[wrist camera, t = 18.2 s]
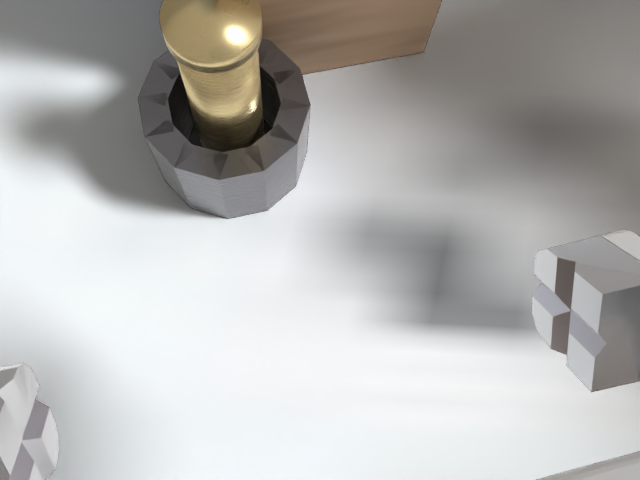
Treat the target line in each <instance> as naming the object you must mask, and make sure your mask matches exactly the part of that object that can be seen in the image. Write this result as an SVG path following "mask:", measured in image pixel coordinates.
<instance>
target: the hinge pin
mask: <svg viewBox="0 0 640 480" xmlns="http://www.w3.org/2000/svg"><path fill="white" fill-rule="evenodd" d="M159 21H160V26H161V30H162V33H163V36H164V40H165V43H166V46H167V48H168V50H169V51H170V53H171V54H172V56H173V57H174V58H175V59H176V60H177V63H178V66H179V70H180V73H181V76H182V80H183V83H184V87H185V90H186V94H187V97H188V100H189V104H190V107H191V111H192V114H193V118H194V121H195V124H196V128H197V131H198V135H199V138H200V141H201V145H202V147H203V148H207V149H210V150H214V151H217V152H225V151H230V150H236V149H241V148H246V147H250V146H252V145H253V144H254V143H255V142H257V141H258V140H259V139H260V138H261V137H263V136H264V122H263V108H262V95H261V81H260V67H259V54H258V47H259V45H260V43H261V39H262V13H261V7H260V4H259V2H258V0H163V2H162V5H161V8H160V13H159Z"/></svg>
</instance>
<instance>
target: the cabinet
mask: <svg viewBox="0 0 640 480" xmlns="http://www.w3.org/2000/svg"><path fill="white" fill-rule="evenodd" d="M258 2H259V4H260V7H261V13H262V39H266V40H270V41H271V42H273V43H274V44H275V45H276V46H277V47H278V48H279V49H280V50H281V51H282V52H283V53H284V54H285V55H287V56H288V57H289V58H290V59H291V60H292V61H293V62H294V63H295V64H296V65H297V66H298V67H299V68H300V70H301V73H302V74H307V73H312V72H318V71H323V70H329V69H334V68H340V67H345V66H350V65H356V64H361V63H367V62H372V61H378V60H383V59H388V58H394V57H399V56H405V55H410V54H416V53H421V52H424V50H425V47H426V44H427V41H428V38H429V36H430V33H431V30H432V27H433V24H434V22H435V19H436V16H437V13H438V10H439V8H440V5H441V2H442V0H258Z"/></svg>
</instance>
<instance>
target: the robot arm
mask: <svg viewBox="0 0 640 480" xmlns="http://www.w3.org/2000/svg"><path fill="white" fill-rule="evenodd" d="M533 273H534V275H535V276H536V277H537V278H538V279H539V280H540V282H541V284H540V285H539V287H538V288H537V290H536V291H535V293H534V294H533V296H532V315H533V318H534V322H535V325H536V329H537V330H538V332H539V334H540V336H541V338H542V339H543V340H544V342H545V343H546V344H547V345H548V346H549V347H550V348H551V349H553V350H556V351H558V352H561V353H563V354H566V355H567V364H566V366H567V367H568V368H569V369H570V370H571V371H572V372H573V373H574V374H575V375H576V376H577V377H578V379H579V380H580V381H581V382H582V383H583V384H584V385H585V386H586V387H587V388H588V389H589V390H590V391H591V392H594V391H599V390H603V389H608V388H612V387H616V386H621V385H625V384H630V383H634V382H638V381H640V236H638V235H637V234H635V233H633V232H632V231H628V230H618V231H614V232H610V233H606V234H603V235H599V236H595V237H592V238H588V239H584V240H580V241H576V242H572V243H568V244H564V245H560V246H556V247H551V248H547V249H543V250H539V251H538V252H537V254H536V257H535V259H534V272H533ZM38 388H39V383H38V381H37V379H36V377H35V374H34V372H33V370H32V368H31V367H29V366H28V365H26V364H24V363H22V364H17V365H12V366H7V367H2V368H0V480H46V479H47V478H48V477H49V476H50V475H51V474H52V473H53V472H54V471H55V470H56V465H57V460H58V456H59V439H58V431H57V427H56V423H55V419H54V417H53V415H52V412H51V410H50V407H48V406H46V405H44V404H43V403H41V402H39V401H37V400H36V399H35V398H36V394H37V391H38ZM536 480H640V451H638V452H634V453H631V454H627V455H624V456H620V457H616V458H613V459H609V460H605V461H602V462H598V463H594V464H591V465H587V466H583V467H580V468H576V469H572V470H569V471H565V472H562V473H558V474H554V475H551V476H547V477H543V478H540V479H536Z"/></svg>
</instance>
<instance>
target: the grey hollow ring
mask: <svg viewBox="0 0 640 480" xmlns="http://www.w3.org/2000/svg"><path fill="white" fill-rule="evenodd" d="M258 54H259V67H260V81H261V95H262V108H263V118H264V119H265V120H266V121H267V122H268V123H269V124H270V125H271V126H272V127H273V128H272V129H271V130H270V131H269V132H268V133H266V134H265V135H264V136H263V137H261V138H260V139H259V140H258V141H257V142H255V143H254V144H253V145H252V146H250V147H246V148H241V149H236V150H230V151H225V152H217V151H214V150H210V149H207V148H203V147H200V146H196V145H193V144H191V143H190V142H189V141H188V139H189V137H190V134H191V132H192V129H193V127H194V126H195V125H196V124H195V121H194V118H193V114H192V111H191V107H190V104H189V100H188V97H187V94H186V90H185V87H184V83H183V80H182V76H181V73H180V70H179V66H178V63H177V60H176V59H175V58H174V57H173V56H172V54H171V53H170V51H168V52H166V53H165V54H163V55H162V56H161V57H159V58H158V59H156V60H155V61H154V62H153V65H152V67H151V69H150V71H149V74H148V76H147V78H146V80H145V83H144V85H143V87H142V89H141V92H140V94H139V96H138V102H139V107H140V113H141V119H142V124H143V130H144V135H145V139H146V141H147V143H148V145H149V147H150V149H151V151H152V153H153V156H154V158H155V160H156V162H157V164H158V166H159V168H160V170H161V172H162V175H163V177H164V179H165V181H166V182H167V183H168V184H169V185H170V186H171V187H172V188H173V189H174V190H175V191H176V193H177V194H178V195H179V196H180V197H181V198H182V199H183V200H184V201H185V202H186V203H187V204H188V205H189V206H190V207H191V208H193V209H197V210H200V211H204V212H207V213H211V214H214V215H217V216H221V217H224V218H228V219H230V218H235V217H239V216H244V215H249V214H254V213H258V212H263V211H268V210H269V209H270V208H271V207H272V206H273V205H274V204H276V203H277V202H278V201H279V200H280V199H281V198H283V197H284V196H285V195H286V194H287V193H288V192H290V191H291V190H292V189H293V188H294V187H295V186H296V184H297V181H298V178H299V175H300V172H301V169H302V166H303V163H304V160H305V157H306V154H307V144H308V130H309V117H310V102H309V99H308V95H307V92H306V88H305V84H304V81H303V77H302V73H301V70H300V68H299V67H298V66H297V65H296V64H295V63H294V62H293V61H292V60H291V59H290V58H289V57H288V56H287V55H285V54H284V53H283V52H282V51H281V50H280V49H279V48H278V47H277V46H276V45H275V44H274V43H273V42H271V41H270V40H266V39H261V43H260V45H259V47H258Z"/></svg>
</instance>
